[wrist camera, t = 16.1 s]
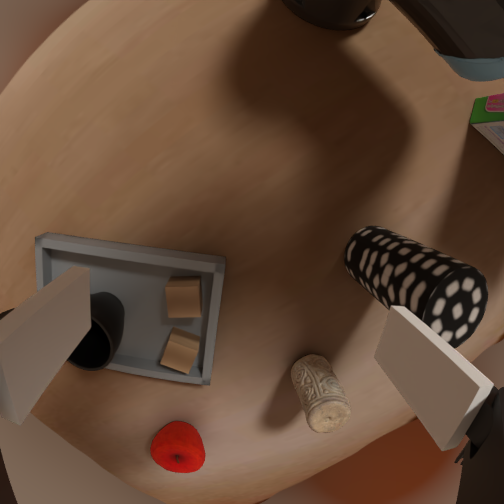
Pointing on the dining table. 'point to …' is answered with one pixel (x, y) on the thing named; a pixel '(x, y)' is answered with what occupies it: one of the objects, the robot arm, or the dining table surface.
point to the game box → (490, 119)
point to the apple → (178, 448)
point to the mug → (100, 333)
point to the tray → (141, 297)
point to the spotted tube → (419, 281)
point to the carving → (320, 394)
